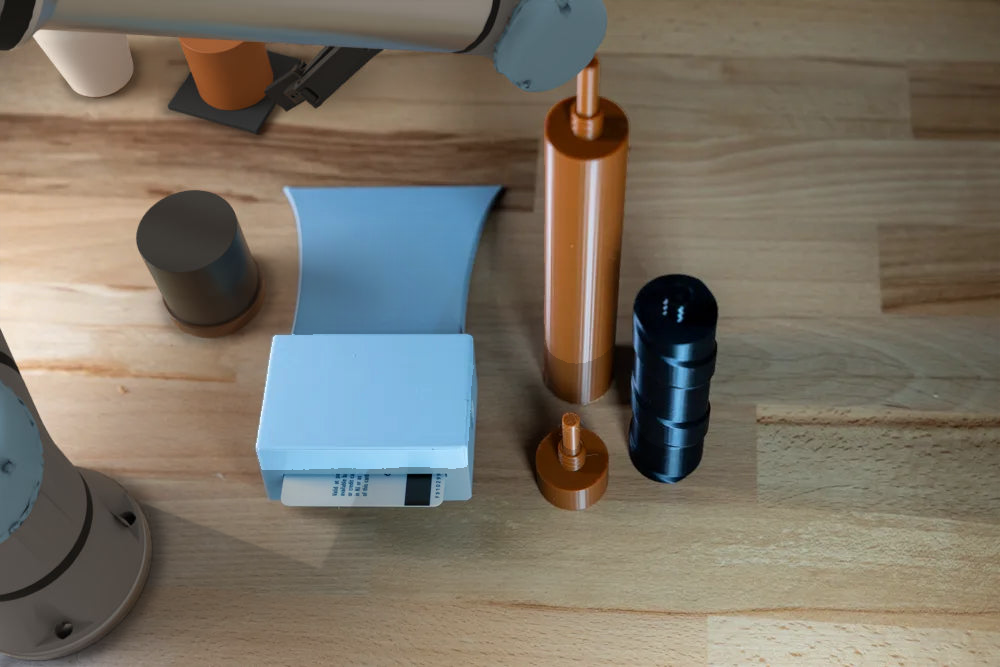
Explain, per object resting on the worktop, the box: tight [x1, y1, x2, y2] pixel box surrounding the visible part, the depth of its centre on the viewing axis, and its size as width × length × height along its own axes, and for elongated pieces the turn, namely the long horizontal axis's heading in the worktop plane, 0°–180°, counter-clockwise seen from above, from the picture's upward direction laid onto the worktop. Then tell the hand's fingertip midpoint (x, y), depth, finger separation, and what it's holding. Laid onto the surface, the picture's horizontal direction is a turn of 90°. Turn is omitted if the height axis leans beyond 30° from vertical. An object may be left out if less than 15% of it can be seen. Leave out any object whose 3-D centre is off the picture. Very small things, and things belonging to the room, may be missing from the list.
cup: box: [32, 30, 134, 98], centre depth 115 cm, size 9×9×12 cm
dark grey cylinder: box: [135, 189, 267, 339], centre depth 102 cm, size 9×9×10 cm
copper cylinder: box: [177, 37, 273, 110], centre depth 115 cm, size 8×8×8 cm
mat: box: [167, 49, 303, 135], centre depth 119 cm, size 10×10×1 cm
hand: (309, 46), depth 109 cm, fingers open, 13 cm apart
